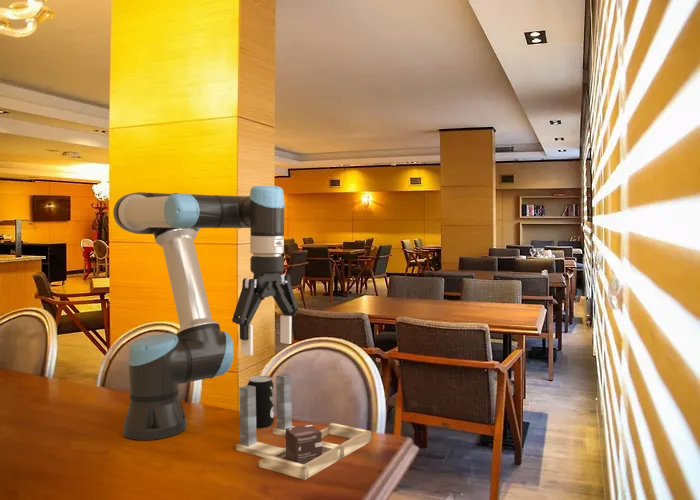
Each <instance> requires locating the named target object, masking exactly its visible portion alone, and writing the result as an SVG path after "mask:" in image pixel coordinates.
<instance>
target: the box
mask: <svg viewBox="0 0 700 500" xmlns="http://www.w3.org/2000/svg"><path fill="white" fill-rule="evenodd" d="M322 438H323V437H321V430H319V429H318V428H316V427H315V426H314V425H312V424H306V425H305V424H304V425H297V426H294V427H292V428H286V437H285V448H286V456H285V460H288V461H292V462H296V463H299V464H303V465H304V464H306V463H308V462H310V461H311V460H313V459H315V458H317V457H319V456H321V455H322V441H323V440H322Z"/></svg>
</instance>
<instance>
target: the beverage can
mask: <svg viewBox="0 0 700 500" xmlns="http://www.w3.org/2000/svg"><path fill="white" fill-rule="evenodd" d="M246 385H250V386H255V387H256V429H264V428H269V427H271V426H272V424H273V423H274V421H275V419H274V418H275V416H274V415H275V414H274V413H275V412H274V411H275V407H274V406H275V405H274V401H275V400H274V382H273V381H272V377H271V376H269V375H255V376H251V377H248V382H247V384H246Z"/></svg>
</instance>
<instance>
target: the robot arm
mask: <svg viewBox="0 0 700 500" xmlns="http://www.w3.org/2000/svg"><path fill="white" fill-rule="evenodd" d="M249 193H250V194H249V195H221V194H220V195H219V194H217V195H215V194H197V193H195V194H191V193H179V192H174V193H167V192H166V193H163V192H162V193H161V192H146V191H145V192H143V191H141V192H140V191H139V192H131V193H128V194H125V195H123V196H122V197H119V199H118V200H117V201H116V202H115V204H114V206H113V211H112V212H113V213H112V214H113V218H114V222H115V223H116V224H117V226H119V227H120V228H121V229H122V230H123V231H126V232H129V233H132V234H135V235H137V234H138V235H153V236H154V240H155V243H156V244H157V245H158V246H160V247H161V248H162V250H163V254H164V259H165V264H166V269H167V273H168V277H169V278H168V279H169V283H170V287H171V291H172V296H173V301H174V304H175V309H176V314H177V320H178V323H179V328H178V330H177V332H175V333H169V332H168V333H162V334H159V333H158V334H152V335H149V336H145V337H141V338H139V339H137V340H136V341H134V342H133V343H131V344H130V347H129V350H128V361H127V362H128V375H129V405H128V408H127V412H126V415H125V418H124V422H123V425H122V431H123V432H122V434H123V436H124V437H125V438H127V439H131V440H136V441H137V440H138V441H150V440H159V439H166V438H169V437H174V436H177V435H178V434H180V433H182V432H183V431H185V430H186V429H187V427H188V425H187V424H188V423H187V422H188V421H187V416H186V414H185V409H184V407H183V405H182V402H181V399H180V395H179V393H180V389H179V388H180V387H179V386H180V384H181V385H182V384H188V383H193V382H195V381H196V382H197V381H201V380H206V379H210V380H211V379H214V378H216V377H219V376H223V375H225V374H226V373H228V371H229V370H230V369H231V366H232V364H233V361H234V356H235V349H234V348H235V347H234V341H233V338H232V337H231V335H230V333H228V332H226V331H222V330H221V327H220V326H221V325H220V323H219V322H218V321H216V320H214V319H213V317H212V313H211V308H210V306H209V305H210V304H209V300H208V296H207V293H206V289H205V288H206V287H205V284H204V283H205V282H204V278H203V275H202V271H201V267H200V262H199V258H198V253H197V250H196V247H195V242H194V241H195V239H196V238H197V236H198V232H199V231H200V229H249V230H250V231H249V232H250V233H249V234H250V236H249V237H250V239H249V241H250V242H249V244H250V247H249V248H250V249H249V252H250V254H251V255H252V256H251V257H249V258H250V262H249V263H250V267H249V269H250V272H251V273H252V274H253V277H252V278H247V277H245V278H243V280H242V285H241V291H240V293H239V296H238V301H237V302H236V303H237V304H236V307H235V310H234V313H233V316H232V319H231V321H232V323H234V324H236V325H239V339H240V354H241V355H245V356H254V355H253V354H254V325H253V324H251V322H252V321H253V318H254V317H255V315H256V313H257V310H258V309H259V306H260V304H261V303H262V301H264V300H265V299H266V298H269V297H272V298H273V299H274V301H275V303H276V304H277V306H278V308H279V309H280V311H281V313H282V315H280V316H279V317H280V321H279V322H280V323H279V324H280V326H279V327H280V332H279V333H280V335H279V337H280V339H279V340H280V343H281V344H286V345H287V344H288V345H290V344H292V329H293V317H295V316H296V315H297V312H299V305H298V302H297V300H296V297H295V293H294V290H293V287H292V283H291V276H290V274H288V273H287V274H286V273H285V274H283V272H284V271H285V257H284V255H282V254H284V253H285V244H284V243H285V241H284V240H285V239H284V237H285V206H286V205H285V194H284V193H285V191H284V189H283V188H282V187H280V186H276V185H275V186H274V185H255V186H254V185H253V186H252V187H251V188H250V192H249Z"/></svg>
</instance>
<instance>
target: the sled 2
mask: <svg viewBox="0 0 700 500" xmlns="http://www.w3.org/2000/svg"><path fill="white" fill-rule="evenodd" d="M275 393H276V396H275V399H276V400H275V401H276V402H275V403H276V404H275V405H276V409H275V410H276V426H275V427H273V428H272V434H273V435H278V436H281V437H285V438H286V428H292V427H295V426H294V425H293V421H292V420H293V419H292V418H293V417H292V412H293V411H292V375H291V374H288V373H281V374H280V373H279V374H278V375H277V374H276V375H275ZM320 431H321V437H322V438H324V437H326V436H328V435H332V436H337V437H341V438H345V439H348V440H346V441H344V442H342V443H341V444H336V443H332V442H329V441H328V442H327V441H324V440H322V444H325V445H329V446H333V447H338V448H340V458H341V459H343V458H345V457H346V456H348V455H350V454H352V453H354V452H355V451H357V450H358V449H360V448H362V447H364V446H366V445H367V444H369V443H371V441H372V431H371V430H367V429H364V428H363V429H362V428H360V427H359V428H358V427H354V426H348V425H344V424H340V423H334V422H331V423H329V425H328V426H327V427H324V428H323V429H320ZM341 459H340V460H341Z"/></svg>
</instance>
